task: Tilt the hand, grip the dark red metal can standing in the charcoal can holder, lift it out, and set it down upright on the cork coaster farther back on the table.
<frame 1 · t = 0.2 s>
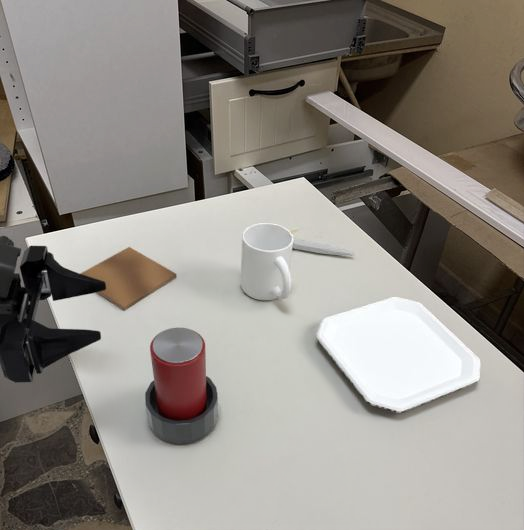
hand: (103, 309, 64), 14 cm above the table, tool horizontal, fingers open, 9 cm apart
can: (182, 414, 70), resting on holder
holder: (183, 416, 71), on the table
plate: (394, 357, 82), on the table
mug: (268, 294, 91), on the table
coaster: (127, 278, 91), on the table
tool: (309, 251, 100), on the table
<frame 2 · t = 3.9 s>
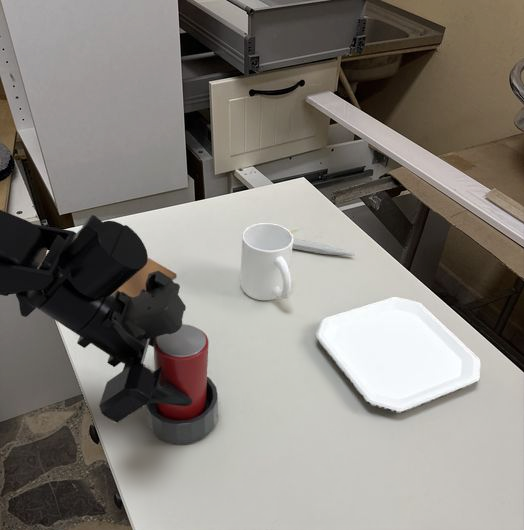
hand: (193, 382, 66), 7 cm above the table, tool tilted 45°, fingers closed on can, 6 cm apart
can: (181, 415, 70), point 1 cm above the table, touching gripper, holder
everything else where it was.
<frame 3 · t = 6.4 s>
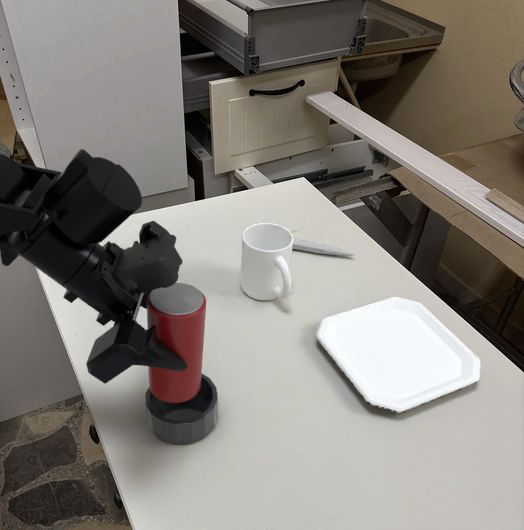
hand: (189, 347, 61), 13 cm above the table, tool tilted 45°, fingers closed on can, 6 cm apart
can: (175, 384, 65), point 7 cm above the table, tilted 5°, touching gripper
everything else where it was.
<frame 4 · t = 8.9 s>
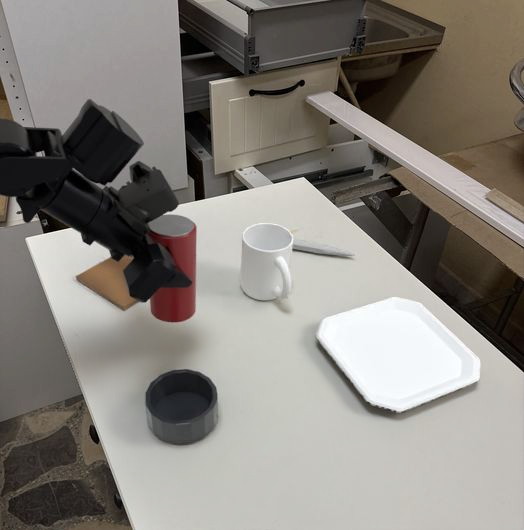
hand: (183, 269, 72), 13 cm above the table, tool tilted 45°, fingers closed on can, 6 cm apart
can: (173, 309, 75), point 7 cm above the table, tilted 5°, touching gripper
everything else where it was.
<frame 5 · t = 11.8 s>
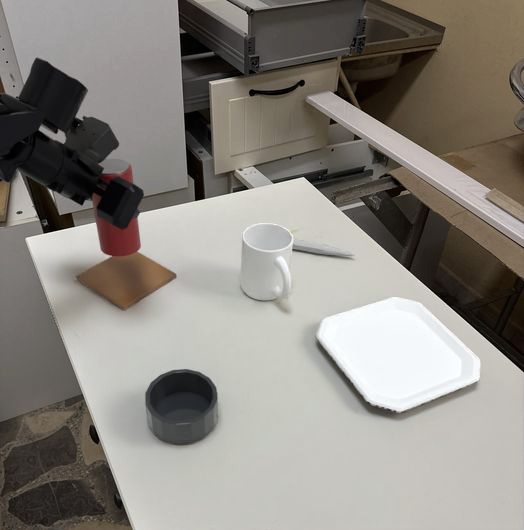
hand: (123, 207, 82), 13 cm above the table, tool tilted 45°, fingers closed on can, 6 cm apart
can: (120, 246, 85), point 7 cm above the table, tilted 5°, touching gripper
everything else where it was.
when the fingers open (7 cm above the table, at t = 14.1 s): can stays where it is, resting on coaster.
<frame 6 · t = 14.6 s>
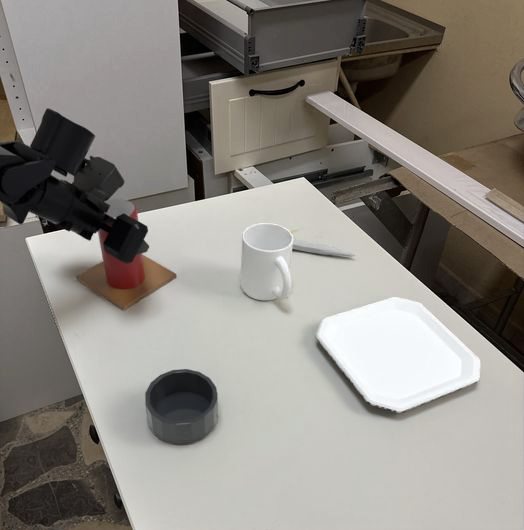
hand: (128, 237, 86), 8 cm above the table, tool tilted 45°, fingers open, 9 cm apart
can: (125, 277, 90), point 1 cm above the table, touching coaster, gripper
everything else where it was.
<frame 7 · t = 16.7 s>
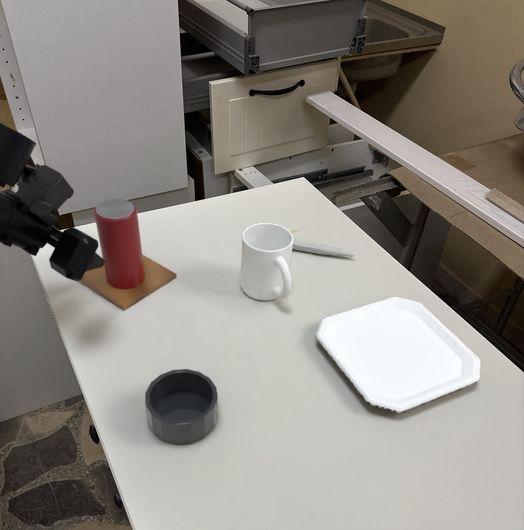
hand: (83, 251, 80), 9 cm above the table, tool tilted 45°, fingers open, 9 cm apart
can: (125, 277, 90), point 1 cm above the table, touching coaster
everything else where it was.
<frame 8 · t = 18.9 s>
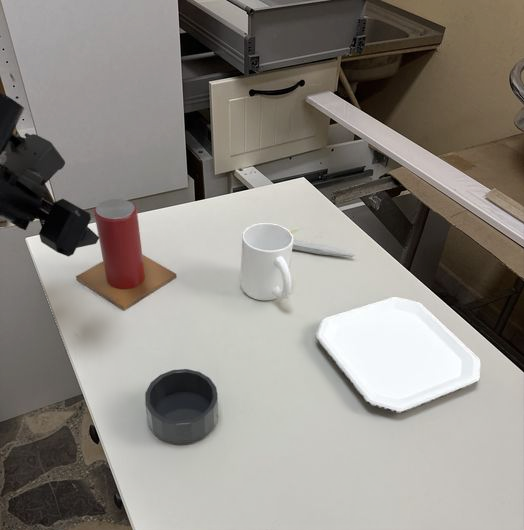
hand: (76, 228, 77), 14 cm above the table, tool tilted 45°, fingers open, 9 cm apart
nothing on the table moved.
at the end: can inside the target area on the coaster (0.8 cm from its centre), point 0.8 cm above the coaster's base; can tilted 0°; can touching coaster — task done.
